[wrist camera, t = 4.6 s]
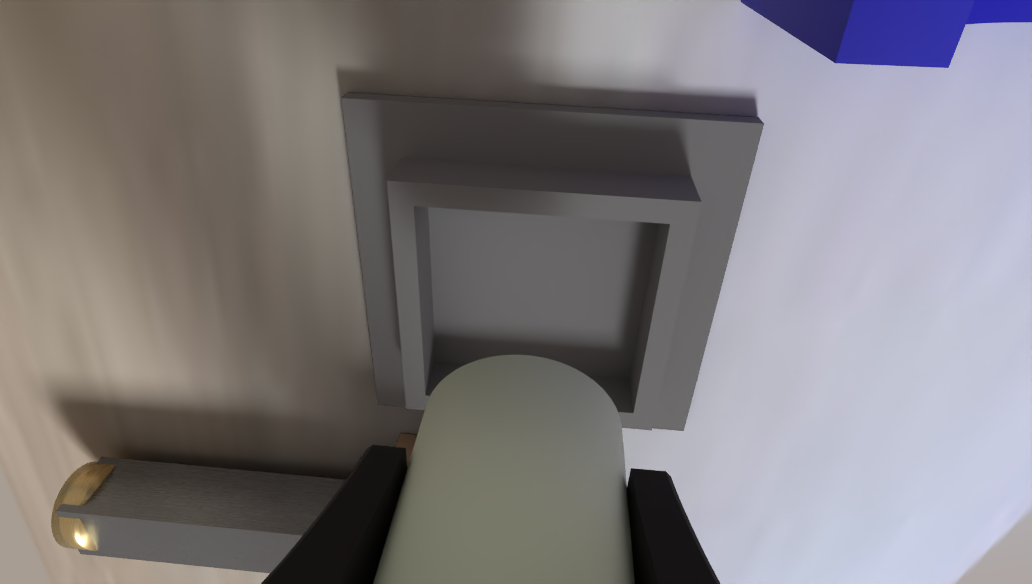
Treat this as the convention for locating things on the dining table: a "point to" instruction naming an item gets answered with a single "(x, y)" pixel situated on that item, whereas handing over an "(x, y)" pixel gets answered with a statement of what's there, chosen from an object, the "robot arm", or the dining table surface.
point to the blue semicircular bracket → (887, 26)
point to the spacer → (513, 482)
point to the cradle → (545, 240)
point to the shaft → (187, 513)
